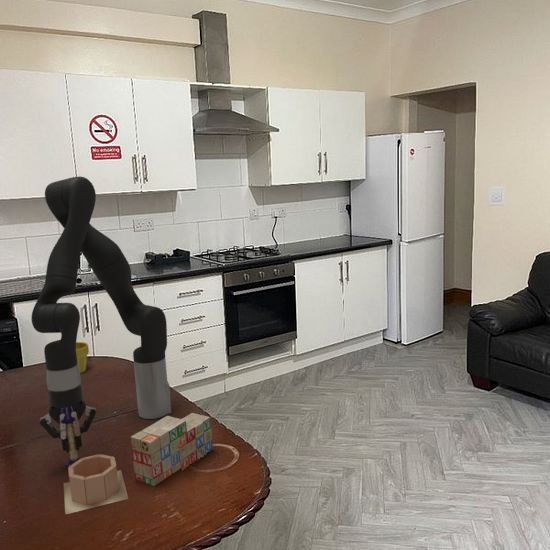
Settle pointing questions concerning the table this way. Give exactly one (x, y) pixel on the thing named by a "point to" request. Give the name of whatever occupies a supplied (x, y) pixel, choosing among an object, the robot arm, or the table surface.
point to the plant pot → (82, 355)
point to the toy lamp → (70, 434)
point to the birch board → (75, 507)
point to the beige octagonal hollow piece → (93, 479)
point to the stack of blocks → (170, 446)
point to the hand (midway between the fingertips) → (72, 449)
